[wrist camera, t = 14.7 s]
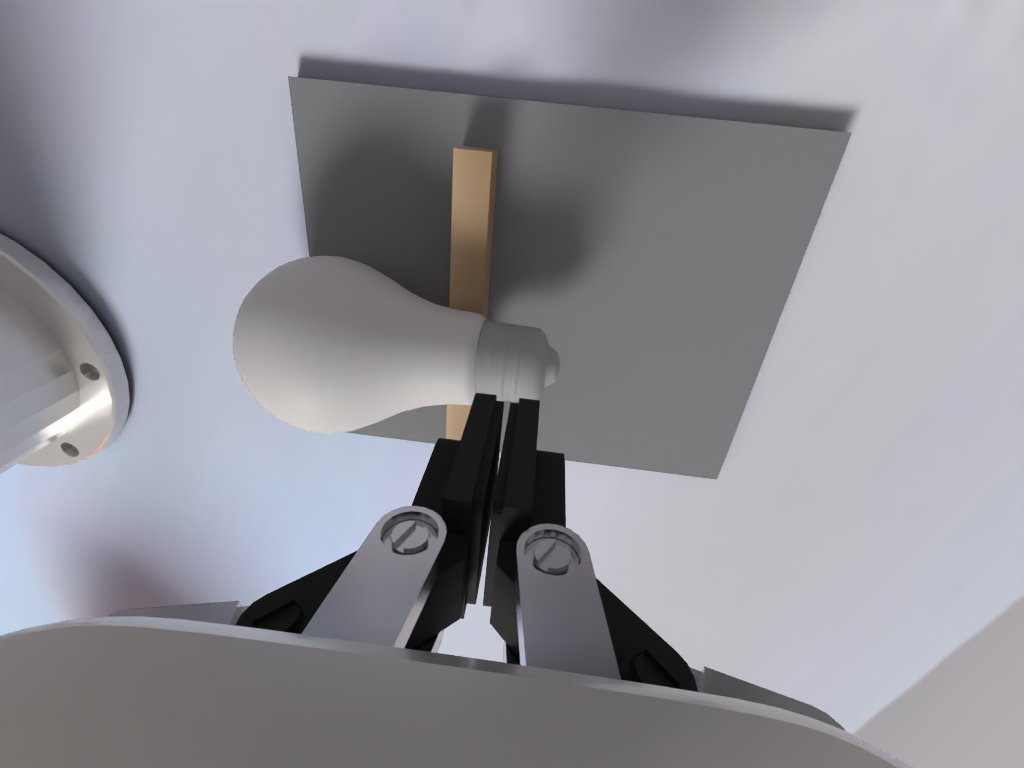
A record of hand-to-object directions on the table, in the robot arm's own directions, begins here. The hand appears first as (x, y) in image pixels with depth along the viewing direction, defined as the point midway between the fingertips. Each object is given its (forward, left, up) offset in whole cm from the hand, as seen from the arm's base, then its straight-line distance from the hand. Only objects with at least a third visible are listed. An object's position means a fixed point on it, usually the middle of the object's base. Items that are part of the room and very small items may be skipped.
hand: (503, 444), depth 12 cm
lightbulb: (+2, 0, -4) cm, 4 cm away
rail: (-2, 0, -8) cm, 8 cm away
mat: (+1, +1, -8) cm, 8 cm away
